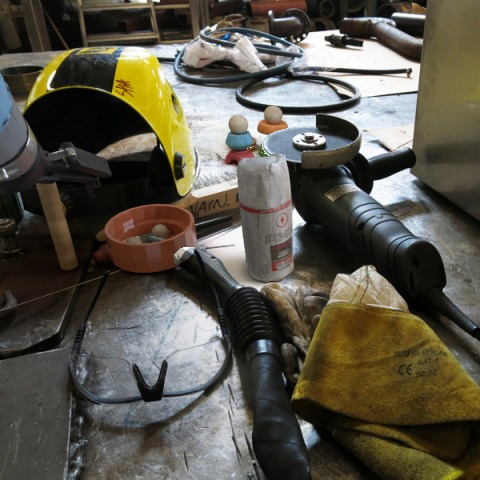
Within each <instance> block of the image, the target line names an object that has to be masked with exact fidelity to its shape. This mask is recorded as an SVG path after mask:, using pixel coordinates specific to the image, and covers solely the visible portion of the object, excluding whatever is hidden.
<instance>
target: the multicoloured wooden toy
mask: <svg viewBox="0 0 480 480" xmlns="http://www.w3.org/2000/svg"><path fill="white" fill-rule="evenodd" d="M227 124H228V129H229V132H227V136H226V138H225V142H224V143H225V145H226V146H227V147H228V149H229V151H228V152H227V154H226V155H225V158H224V164H225V165H228V164H231V163H233V162H237V165H238V164H239V162H240V161H241V160H242V159H244V158H253V157H256V155H255V154H254V152H252V151H254V150H255V149H256V147H257V141H258V140H257V138H256V137H254V136H252V134H251V132H250V131H249V129H248V128H249V120H248V119H247V118H246V117H245V116H244V115H242V114H234V115H232V116H231V117H230V118H229V120H228V123H227ZM286 128H288V129H289V125H288V123H287V122H286V121H285V120H283V111H282V109H281V108H280V107H278V106H277V105H270V106H267V107H266V108H265V110H264V111H263V119H261V120H259V122H258V123H257V127H256V131H257V132H258V133H260V134H261V135H265V136H270V135H269V134H271V133H273V132H275V131H278V130H282V129H286ZM253 146H254V147H253ZM250 147H252V148H250ZM247 148H248V149H247ZM259 151H260V152H259ZM261 152H262V153H261ZM264 153H265V152H264V150H263V149H262V142H260V145H259V148H258V153H257V154H258V157H269V156H268V155H267V154H264Z"/></svg>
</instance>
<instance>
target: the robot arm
mask: <svg viewBox="0 0 480 480" xmlns="http://www.w3.org/2000/svg"><path fill="white" fill-rule="evenodd" d="M45 175H46V176H45ZM112 176H113V174H112V171H111V169H110V166H109V163H108V161H107V159H106V158H105V157H102V156H100V155H97V154H95V153H91V152H89V151H86V150H84V149H80V148H78V147H75V145H74V144H73V143H72V142H71V141H65V142H62V143H61V144H60V148H58V150H57V151H53V152H49V151H47V150H44V149H43V148H42V147H41V144H40V143H39V141H38V139H37V137H36V136H35V134H34V132H33V130H32V128H31V127H30V125H29V123H28V121H27V120H26V119H25V117H24V115H23V114H22V112H21V111H20V108H19V106H18V104H17V102H16V100H15V98H14V97H13V95H12V93H11V91H10V88H9V86H8V83H7V82H6V81H5V79H4V76H3V75H2V73H1V72H0V197H1V196H2V195H14V194H19V193H22V192H24V191H27V190H29V189H30V188H32V187H33V186H36V184H37V183H39V184H53V183H55V182H67V183H83V185H84V187H85V190H86V192H87V194H88V197H89V199H90V200H93V199H96V195H95V192H94V189H97V188H99V187H101V185H102V184H101V182H100V179H99V178H102V179H108V178H111V177H112Z"/></svg>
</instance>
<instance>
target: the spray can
mask: <svg viewBox="0 0 480 480" xmlns="http://www.w3.org/2000/svg"><path fill="white" fill-rule="evenodd" d="M236 177H237V188H238V189H237V191H238V206H239V215H240V222H241V223H240V225H241V232H242V240H243V248H244V254H245V255H244V257H245V263H246V272H247V274H248V276H249V277H251V278H252V279H253V280H255V281H259V282H263V283H270V282H269V281H276V282H279V281H281V280H284V279H285V278H286V277H288V276H290V275H291V274H293V272H294V270H295V263H294V229H293V228H294V227H293V226H294V225H293V224H294V223H293V203H292V200H293V199H292V191H291V180H290V171H289V168H288V163H287V159H286V155H285V154H282V153H279V152H277V154H272V155H271V156H269V157H261V156H255V157H253V158H244V159H242V160H241V161H240V162H239V164H238V163H237V167H236Z"/></svg>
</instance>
